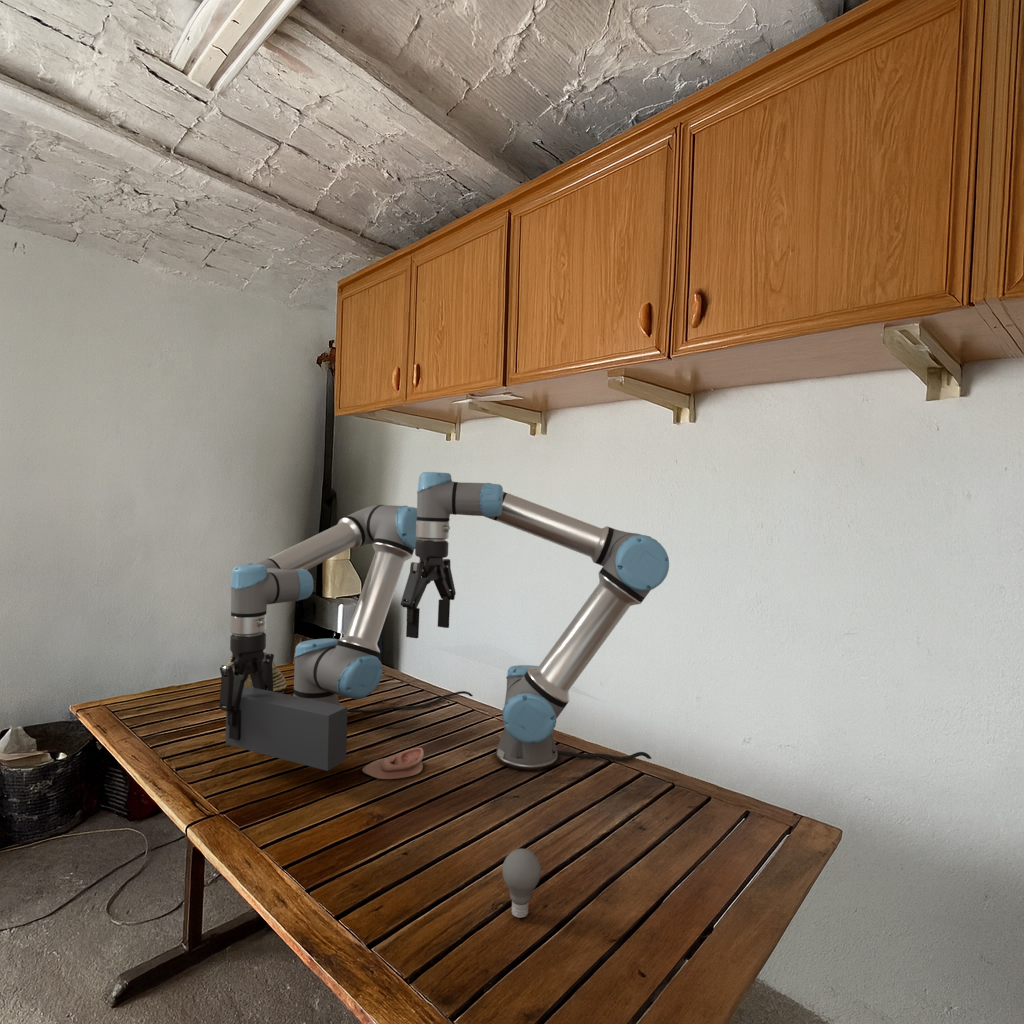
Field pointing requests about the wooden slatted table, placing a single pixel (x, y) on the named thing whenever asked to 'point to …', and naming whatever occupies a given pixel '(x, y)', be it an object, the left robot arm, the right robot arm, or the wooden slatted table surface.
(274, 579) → the left robot arm
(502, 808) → the wooden slatted table surface
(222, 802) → the wooden slatted table surface
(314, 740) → the box
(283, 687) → the fossil
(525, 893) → the light bulb
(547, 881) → the wooden slatted table surface
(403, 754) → the anatomical model
